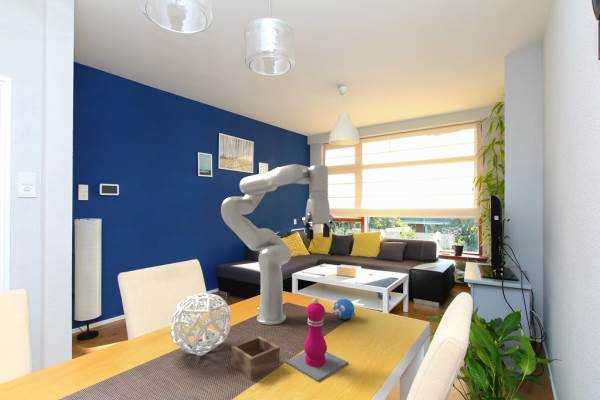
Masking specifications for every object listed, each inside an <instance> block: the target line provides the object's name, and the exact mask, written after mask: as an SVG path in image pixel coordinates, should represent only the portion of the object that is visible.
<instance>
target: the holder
mask: <svg viewBox="0 0 600 400" xmlns="http://www.w3.org/2000/svg"><path fill="white" fill-rule="evenodd" d="M280 348H281V347H280V346H278V345H277V344H275V343H273V342H271V341H269V340H267V339H266V338H263V337H262V336H255V337H254V338H250V339H248V340H245V341H243V342H240V343H237V344H234V345H231V363H230V365H231V367H233V368H234V369H235V370H236V371H237V372H239V373H241V374H242V376H244V377H246V378H247V379H249V380H250V381H253V380H254V379H256V378H260V377H261V376H263V375H265V374H268V373H270V372H271V371H273V370H276V369H278V368H280V366H281V364H280V359H281V358H280V357H281V356H280V355H281V354H280V353H281V352H280V350H281V349H280Z"/></svg>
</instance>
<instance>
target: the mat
mask: <svg viewBox="0 0 600 400" xmlns="http://www.w3.org/2000/svg"><path fill="white" fill-rule="evenodd" d="M324 355H325V364H324V365H322V366H320V367H312V366H309V365H307V363H306V362H305V356H306V353H305V351H304V352H301V353H300V354H297V355H295V356H294V357H291V358H289V359H287V360H285V364H286V365H288V366H290V367H292V368H293V369H295V370H297V371H298V372H301V373H302V374H304V375H305V376H307V377H308V378H310V379H312V380H314V381H315V382H320V381H322V380H324V379H326V378H327V377H329V376H330V375H332V374H334V373H335V372H337V371H339V370H341V369H342V368H344V367H346V366H347V365H349V361H346V360H345V359H343V358H340V357H339V356H337V355H334V354H332V353H330V352H329V351H326V353H325V354H324Z"/></svg>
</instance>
